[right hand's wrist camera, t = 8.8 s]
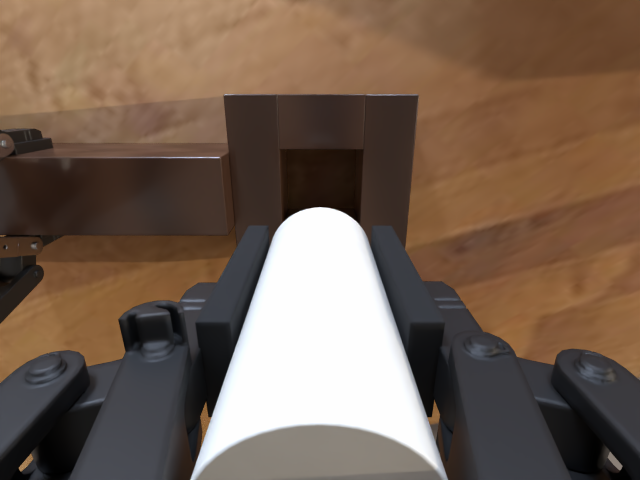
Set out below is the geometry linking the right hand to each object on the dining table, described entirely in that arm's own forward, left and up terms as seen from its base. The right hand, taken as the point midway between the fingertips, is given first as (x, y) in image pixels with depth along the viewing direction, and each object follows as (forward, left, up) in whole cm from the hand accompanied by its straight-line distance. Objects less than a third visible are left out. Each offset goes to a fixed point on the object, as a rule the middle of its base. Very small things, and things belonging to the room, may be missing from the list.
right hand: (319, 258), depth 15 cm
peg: (0, 0, 0) cm, 0 cm away
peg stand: (0, -10, -16) cm, 19 cm away
